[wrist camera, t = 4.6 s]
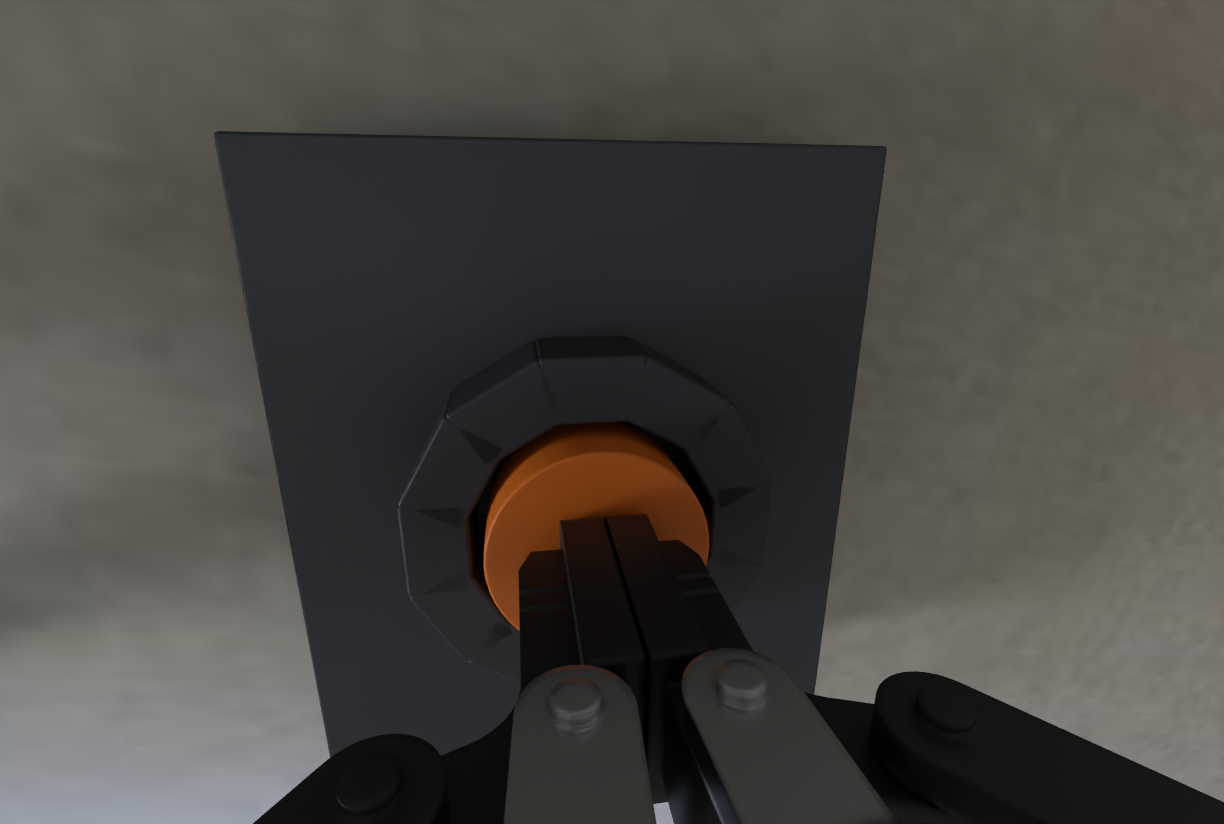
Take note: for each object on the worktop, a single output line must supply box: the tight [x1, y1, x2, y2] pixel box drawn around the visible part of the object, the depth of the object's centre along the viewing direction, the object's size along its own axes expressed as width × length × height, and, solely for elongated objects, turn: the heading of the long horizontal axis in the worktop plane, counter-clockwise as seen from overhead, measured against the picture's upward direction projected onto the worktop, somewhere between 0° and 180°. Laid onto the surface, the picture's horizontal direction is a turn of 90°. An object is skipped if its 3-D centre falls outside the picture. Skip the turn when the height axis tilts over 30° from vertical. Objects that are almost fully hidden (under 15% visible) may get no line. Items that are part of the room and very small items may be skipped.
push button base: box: [214, 131, 887, 758], centre depth 13 cm, size 14×12×5 cm
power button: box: [484, 422, 709, 631], centre depth 11 cm, size 4×4×2 cm
